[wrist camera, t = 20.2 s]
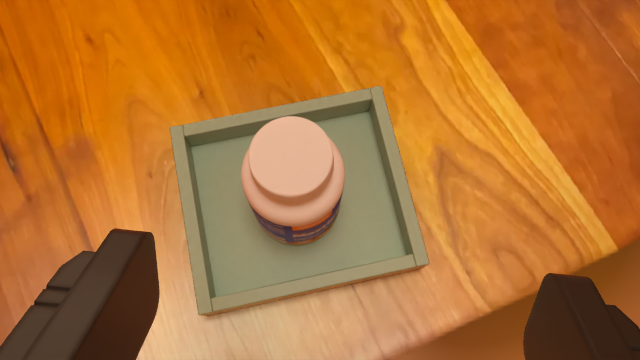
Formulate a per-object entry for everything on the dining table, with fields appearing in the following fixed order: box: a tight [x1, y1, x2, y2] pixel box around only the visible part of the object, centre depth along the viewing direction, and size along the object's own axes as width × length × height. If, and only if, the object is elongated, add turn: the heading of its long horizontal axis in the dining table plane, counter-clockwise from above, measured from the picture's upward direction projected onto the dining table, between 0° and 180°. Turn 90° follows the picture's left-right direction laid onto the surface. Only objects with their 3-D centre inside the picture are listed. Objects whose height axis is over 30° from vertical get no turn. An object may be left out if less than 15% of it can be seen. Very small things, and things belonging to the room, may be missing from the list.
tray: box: [170, 86, 429, 316], centre depth 34 cm, size 14×12×2 cm
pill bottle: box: [241, 116, 345, 245], centre depth 29 cm, size 5×5×10 cm
